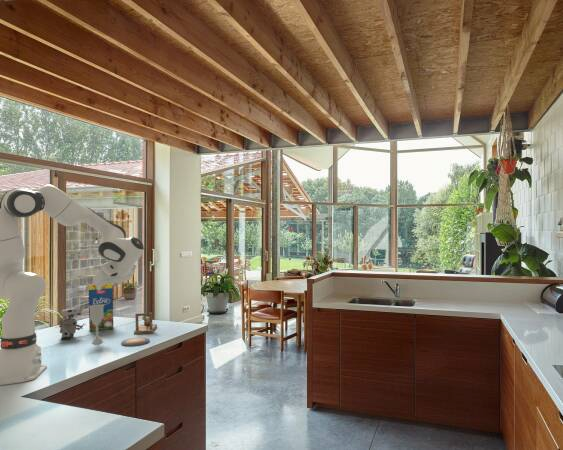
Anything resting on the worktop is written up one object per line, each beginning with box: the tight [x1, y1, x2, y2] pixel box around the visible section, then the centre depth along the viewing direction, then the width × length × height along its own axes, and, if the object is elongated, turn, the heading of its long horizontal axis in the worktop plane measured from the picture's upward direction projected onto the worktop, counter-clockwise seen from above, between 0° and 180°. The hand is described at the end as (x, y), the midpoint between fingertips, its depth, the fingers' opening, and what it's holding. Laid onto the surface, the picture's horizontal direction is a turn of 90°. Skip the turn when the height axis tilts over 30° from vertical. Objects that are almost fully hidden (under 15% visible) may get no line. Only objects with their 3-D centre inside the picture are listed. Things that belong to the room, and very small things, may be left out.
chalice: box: [88, 304, 104, 345], centre depth 210 cm, size 7×7×18 cm
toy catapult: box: [133, 312, 158, 335], centre depth 234 cm, size 16×9×10 cm, turn 7°
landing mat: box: [120, 337, 151, 347], centre depth 208 cm, size 13×13×1 cm
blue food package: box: [88, 283, 114, 332], centre depth 239 cm, size 6×12×25 cm, turn 117°
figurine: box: [58, 306, 87, 341], centre depth 222 cm, size 9×12×15 cm
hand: (106, 287), depth 202 cm, fingers open, 8 cm apart
